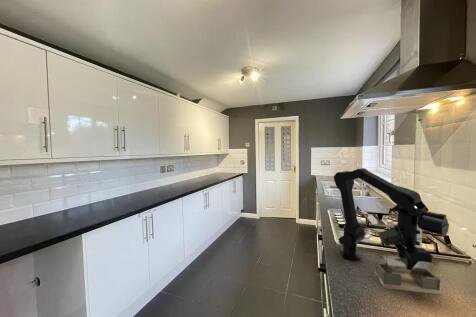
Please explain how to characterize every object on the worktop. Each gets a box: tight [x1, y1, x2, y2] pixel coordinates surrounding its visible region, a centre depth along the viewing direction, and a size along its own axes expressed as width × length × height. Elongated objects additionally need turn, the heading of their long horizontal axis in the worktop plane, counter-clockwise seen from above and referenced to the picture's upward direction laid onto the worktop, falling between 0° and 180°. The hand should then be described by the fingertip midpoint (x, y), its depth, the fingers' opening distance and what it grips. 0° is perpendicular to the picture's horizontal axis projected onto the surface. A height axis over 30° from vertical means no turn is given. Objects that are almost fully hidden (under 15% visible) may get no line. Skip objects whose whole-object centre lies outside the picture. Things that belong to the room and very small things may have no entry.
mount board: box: [374, 270, 442, 295], centre depth 76 cm, size 8×17×1 cm, turn 77°
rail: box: [383, 255, 429, 272], centre depth 76 cm, size 12×4×4 cm, turn 77°
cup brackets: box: [375, 261, 441, 291], centre depth 76 cm, size 8×17×4 cm, turn 77°
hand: (405, 266), depth 76 cm, fingers closed on rail, 4 cm apart
